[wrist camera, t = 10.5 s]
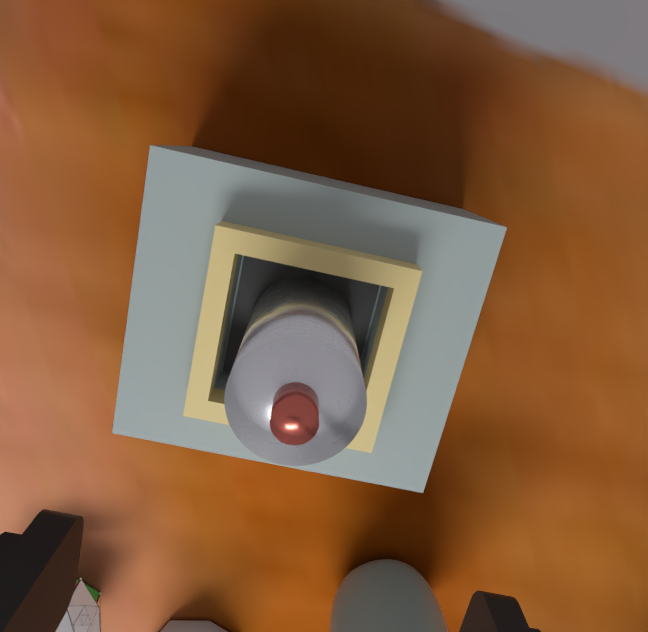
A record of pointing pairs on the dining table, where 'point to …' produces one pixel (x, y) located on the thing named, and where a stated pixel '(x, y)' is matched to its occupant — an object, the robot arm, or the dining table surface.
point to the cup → (386, 600)
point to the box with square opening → (287, 261)
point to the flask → (191, 626)
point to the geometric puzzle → (82, 610)
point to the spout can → (297, 375)
